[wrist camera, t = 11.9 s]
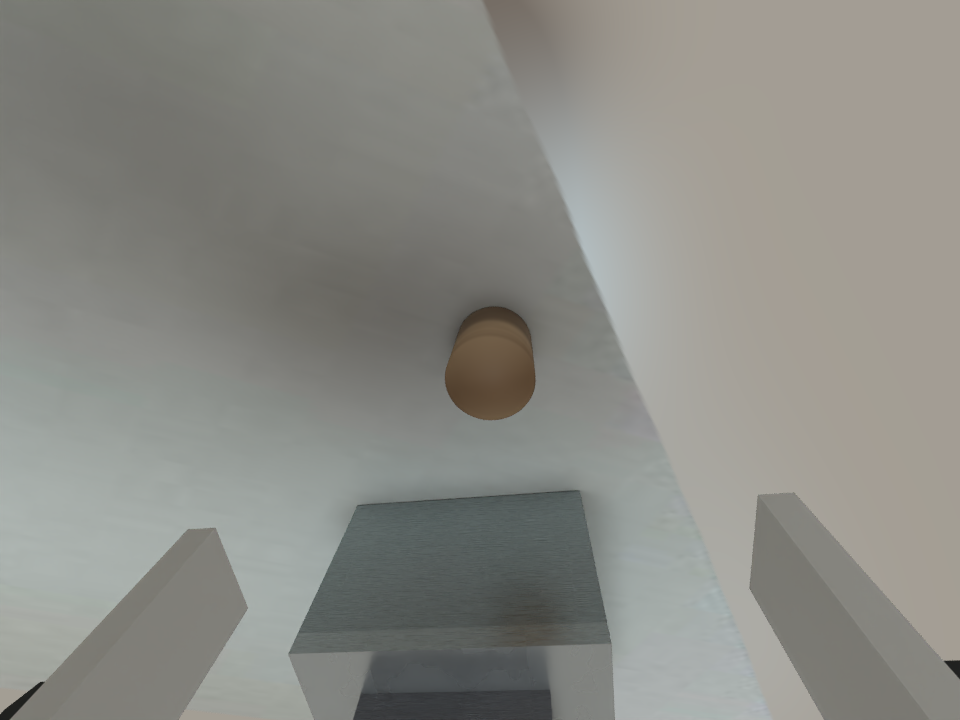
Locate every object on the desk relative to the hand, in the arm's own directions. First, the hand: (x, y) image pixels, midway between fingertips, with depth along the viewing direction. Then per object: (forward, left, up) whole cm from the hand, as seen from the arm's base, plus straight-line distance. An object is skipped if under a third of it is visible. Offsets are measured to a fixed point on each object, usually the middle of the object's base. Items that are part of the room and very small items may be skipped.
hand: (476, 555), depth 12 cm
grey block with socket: (+17, -3, -15) cm, 23 cm away
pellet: (0, 0, -15) cm, 15 cm away
